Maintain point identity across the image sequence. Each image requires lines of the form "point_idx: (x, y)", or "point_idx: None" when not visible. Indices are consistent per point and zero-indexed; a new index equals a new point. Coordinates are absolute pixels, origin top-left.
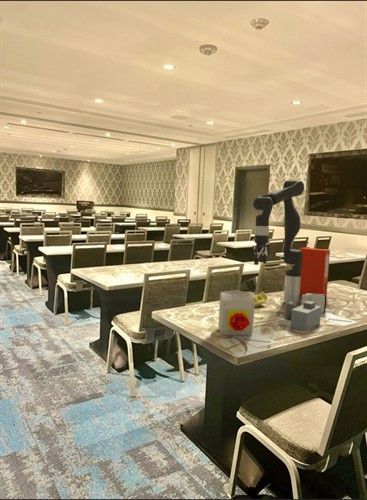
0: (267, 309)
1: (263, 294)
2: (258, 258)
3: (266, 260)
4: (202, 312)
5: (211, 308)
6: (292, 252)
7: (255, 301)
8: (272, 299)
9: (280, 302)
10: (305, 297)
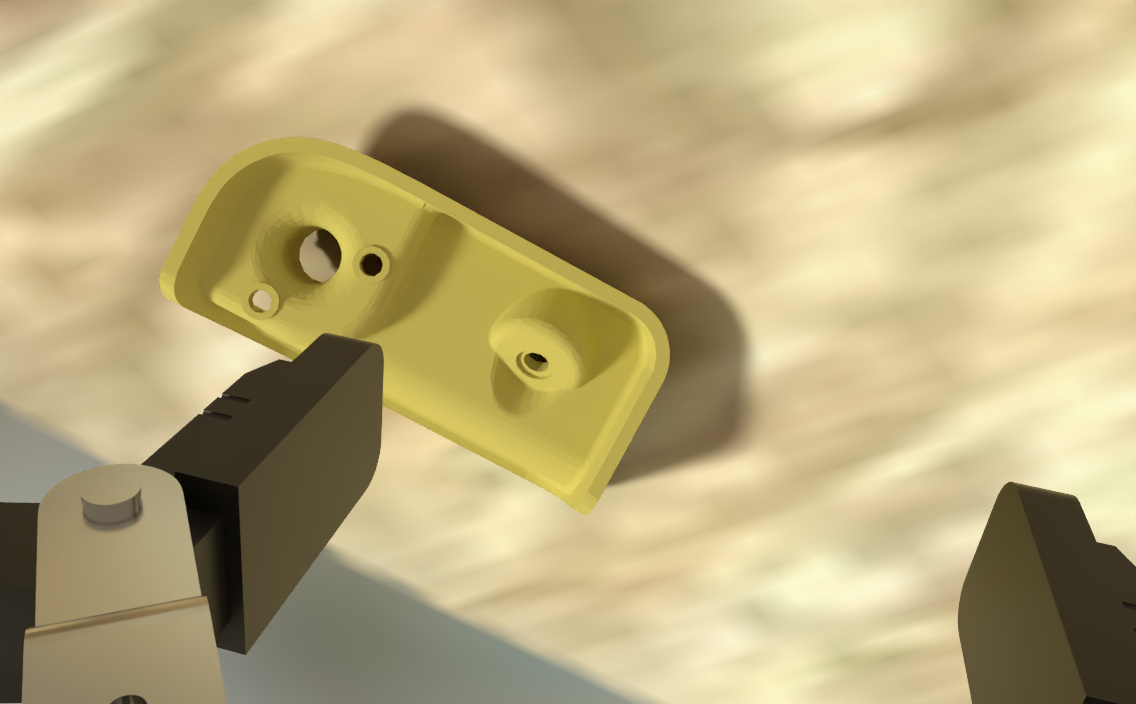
0: (476, 48)
1: (203, 245)
2: (1096, 680)
3: (287, 376)
4: None
5: (877, 629)
6: None
7: (407, 272)
8: (9, 173)
9: (44, 28)
10: None
